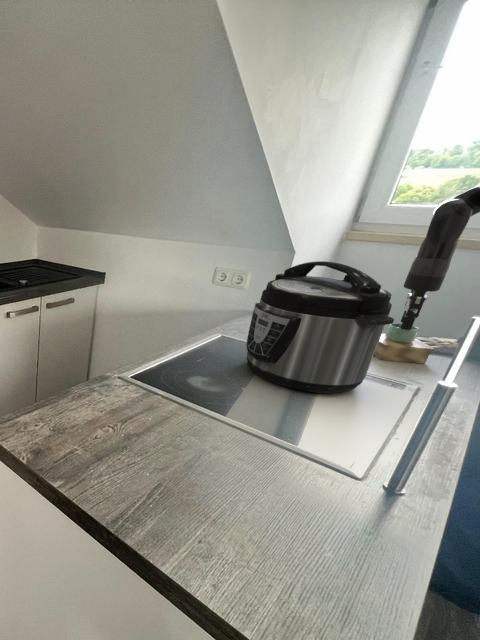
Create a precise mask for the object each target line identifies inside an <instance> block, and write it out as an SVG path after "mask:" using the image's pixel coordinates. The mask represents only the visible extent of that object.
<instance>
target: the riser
mask: <svg viewBox="0 0 480 640" xmlns="http://www.w3.org/2000/svg"><path fill="white" fill-rule="evenodd" d="M385 335H386V333H383V332H382V335H381V337H380V340H379V342H378V345H377V348H376V350H375V353H374V355H373V356H374V357H376V356H377V357H378V358H377V357H376V358H377V359H379V358H380V359H385V360H384V361H391V360H393V361H392V362H402V363H404V362H405V363H415V364H426V363H427V361H428V358H429V357H430V354H431V352H435V351H436V348H434V347H433V346H431V345H429V344H427V343H425V342H423V341H422V340H420V339H418V338H416V337H415V339H414V341H413V342H411V343H398V342H394V341H390V340H388V339H387V337H386V336H385ZM380 359H379V360H380Z"/></svg>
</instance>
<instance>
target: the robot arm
mask: <svg viewBox="0 0 480 640" xmlns="http://www.w3.org/2000/svg"><path fill="white" fill-rule="evenodd" d="M479 213H480V184H478V185H476V186H474V187H472V188H470V189H468V190H466V191H463V192H461V193H459V194H457V195H455V196H453V197H450V198H449V199H446V200H444V201H443V202H441V203H439V205H437V207H436V208H435V209H434V211H433V213H432V217H431V219H430V223H429V226H428V229H427V232H426V235H425V237H424V238H423V240H422V241H421V244H420V246H419V249H418V251H417V254H416V256H415V258H414V260H413V262H412V263H411V266H410V268H409V271H408V273H407V275H406V278H405V280H404V284H403V288H405V289H407V290H410V293H408V294H407V296H406V299H405V303H404V312H403V314H402V316H401V319H400V323H401V324H402V325H401V329H404V330H411V328H412V326H414V323H415V320H416V319H417V318H419V316H420V313H421V312H422V310H423V308H424V305H425V303H426V302H427V301H428V295H427V294H426V293H428V292H429V293H430V292H431V293H433V292H439V291H440V290H441V287H442V285H443V282H444V280H445V278H446V276H447V273H448V271H449V269H450V266H451V262H452V258H453V257H454V253H455V251H456V249H457V247H458V244H459V240H460V238H461V237H462V234H463V232H464V230H465V229H466V227H467V225H468V223H469V222H470V219H471V217H474V216H475V215H477V214H479Z"/></svg>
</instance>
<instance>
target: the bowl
mask: <svg viewBox="0 0 480 640" xmlns="http://www.w3.org/2000/svg"><path fill="white" fill-rule="evenodd" d="M401 325H402V323H401V322H400V323H399V322H397V323H396V322H393V324H388V328H387V330H386V333H385V334H386V335H385V336H386V337H387V339H388V340H390V341H394V342H398V343H411V342H413V341H414V339H415V338H416V337H417V335H418V333H419V330H420V329H419V327H417V326H415V325H413V326H412V328H411V330H404V329H401Z"/></svg>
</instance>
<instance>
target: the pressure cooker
mask: <svg viewBox="0 0 480 640" xmlns="http://www.w3.org/2000/svg"><path fill="white" fill-rule="evenodd" d="M318 266H319V267H327V268H329V269H333V270H335V271H337V272H340V273H343V274H345V275H344V277H343V279H335V278H331V277H323V276H322V277H321V276H311V275H308V274H310V272H311V271H313V269H314V268H315V267H318ZM391 299H392V293H391V292H389V291H388V290H386V289H383V288H382V284H381V283H379V282H378V281H377V280H375V278H373V277H371V276H370V275H368V274H367V273H365V272H363V271H361V270H360V269H357V268H355V267H352V266H350V265H347V264H343V263H340V262H334V261H323V260H322V261H320V260H319V261H318V260H317V261H308V262H303V263H300V264H296V265H294V266H291V267H289V268H287V269H285V270H284V273H277V274H276V275H275V278H274V279H273V280H270V281H268V282H267V284H266V287H265V289H263V291H262V293H261V296H260V299H259V302H255V304H254V308H253V313H252V316H251V319H250V324H249V328H248V334H247V339H246V346H245V347H246V361H247V365H248V367H249V369H250V370H251V371H252V372H253V373H254V374H256V375H257V376H259V377H260V378H262V379H265V380H267V381H268V382H271V383H274V384H277V385H279V386H283V387H287V388H290V389H295V390H299V391H303V392H311V393H320V394H338V393H343V392H346V391H347V392H348V391H353V390H355V389H356V388H357V387H359V386H360V385H361V384H362V383H363V381H364V380H365V379H366V376H367V374H368V371H369V368H370V366H371V363H372V360H373V357H374V356H375V355H374V353H375V350H376V348H377V345H378V342H379V340H380V337H381V335H382V333H383V332H384V329H385V326H386V325H390V324H393V323H395V322H394V321H395V318H393V317H391V316H390V313H391V310H392V308H393V304H392V303H391Z"/></svg>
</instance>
